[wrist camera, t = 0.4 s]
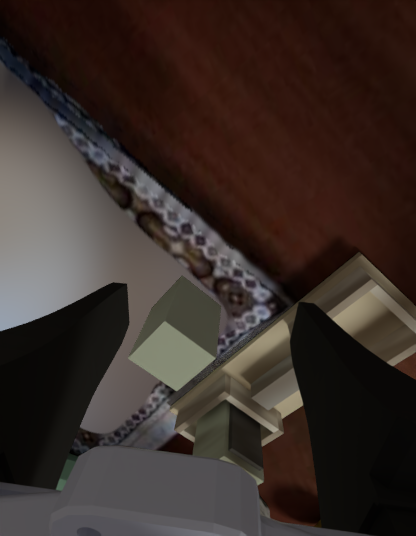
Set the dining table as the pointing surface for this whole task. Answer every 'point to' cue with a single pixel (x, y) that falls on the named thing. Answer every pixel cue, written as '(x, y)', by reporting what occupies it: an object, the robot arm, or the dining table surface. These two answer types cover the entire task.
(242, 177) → the dining table surface
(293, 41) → the dining table surface
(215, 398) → the rail
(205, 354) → the pale green block
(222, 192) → the dining table surface
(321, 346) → the robot arm
